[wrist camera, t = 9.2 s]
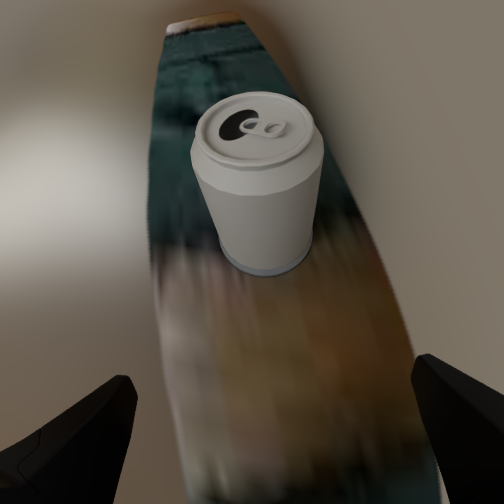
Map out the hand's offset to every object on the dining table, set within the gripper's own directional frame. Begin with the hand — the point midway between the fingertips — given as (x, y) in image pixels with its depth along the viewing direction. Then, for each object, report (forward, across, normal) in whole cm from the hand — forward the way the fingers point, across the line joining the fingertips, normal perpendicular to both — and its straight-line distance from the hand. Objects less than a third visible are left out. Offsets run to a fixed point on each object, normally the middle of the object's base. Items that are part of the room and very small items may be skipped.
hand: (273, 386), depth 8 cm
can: (+18, 0, 0) cm, 18 cm away
